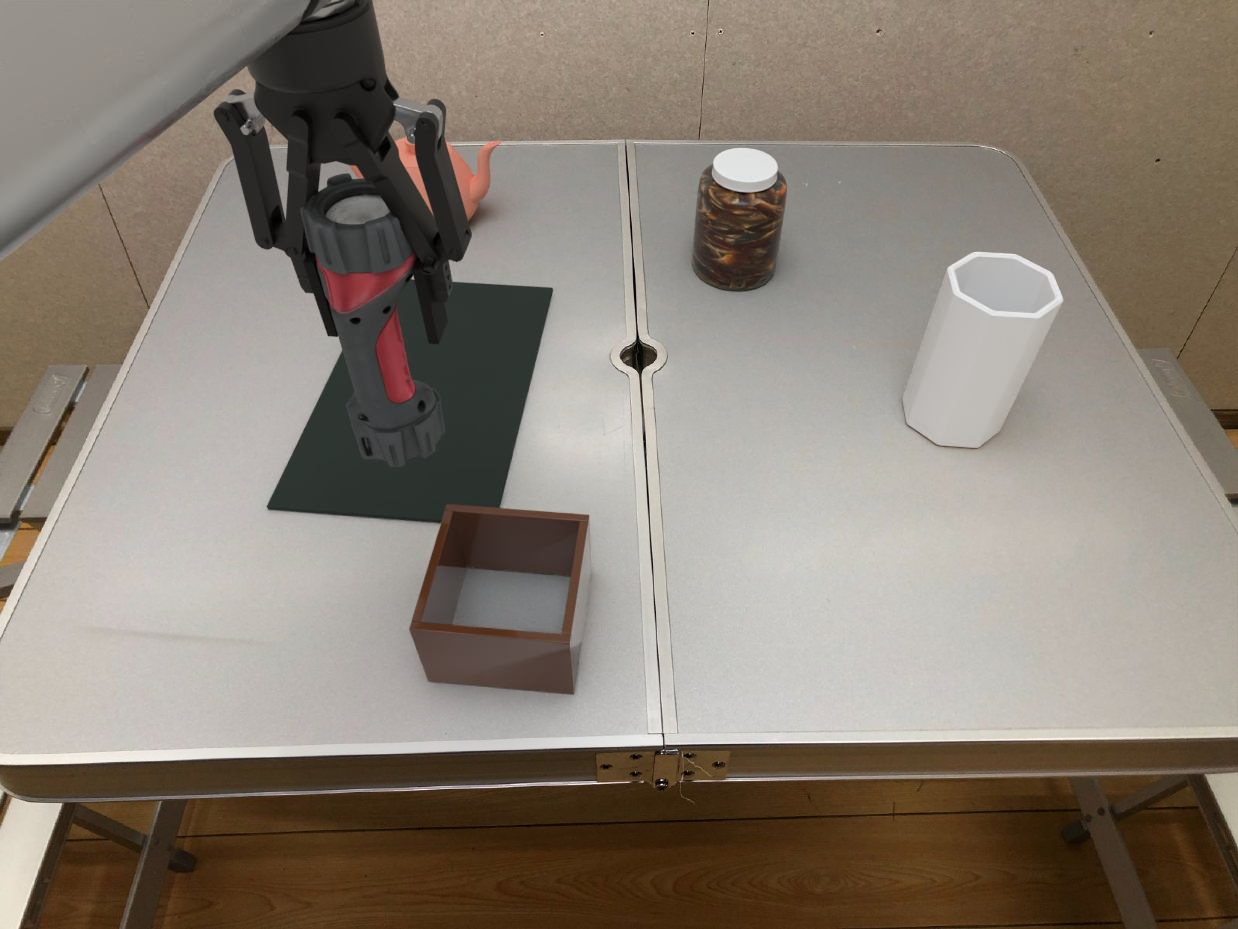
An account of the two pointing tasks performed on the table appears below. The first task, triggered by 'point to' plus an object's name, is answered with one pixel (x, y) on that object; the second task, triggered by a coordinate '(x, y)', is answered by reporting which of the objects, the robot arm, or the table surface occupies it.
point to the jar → (739, 220)
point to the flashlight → (372, 318)
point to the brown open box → (505, 547)
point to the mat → (471, 407)
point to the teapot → (468, 184)
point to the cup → (979, 347)
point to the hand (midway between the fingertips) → (388, 328)
